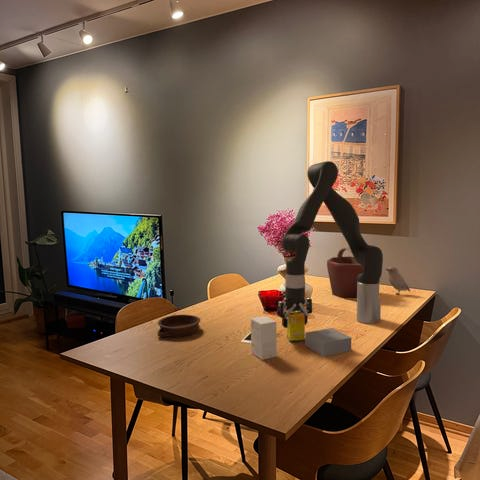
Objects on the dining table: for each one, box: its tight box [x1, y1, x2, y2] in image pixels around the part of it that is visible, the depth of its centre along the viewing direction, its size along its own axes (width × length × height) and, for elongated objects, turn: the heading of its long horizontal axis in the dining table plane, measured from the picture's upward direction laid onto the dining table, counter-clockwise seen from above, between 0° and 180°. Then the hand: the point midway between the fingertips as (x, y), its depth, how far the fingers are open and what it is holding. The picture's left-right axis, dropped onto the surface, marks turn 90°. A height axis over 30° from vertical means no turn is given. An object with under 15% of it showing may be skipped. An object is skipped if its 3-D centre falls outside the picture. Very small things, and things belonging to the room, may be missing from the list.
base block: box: [304, 327, 352, 357], centre depth 169 cm, size 12×12×5 cm
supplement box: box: [286, 311, 306, 343], centre depth 178 cm, size 6×6×11 cm
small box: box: [250, 315, 278, 361], centre depth 163 cm, size 8×6×13 cm
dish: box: [157, 314, 201, 338], centre depth 190 cm, size 18×22×5 cm
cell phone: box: [240, 331, 251, 344], centre depth 183 cm, size 8×16×1 cm, turn 159°
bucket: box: [326, 247, 364, 300], centre depth 241 cm, size 24×22×25 cm
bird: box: [384, 266, 411, 296], centre depth 240 cm, size 5×14×15 cm, turn 82°
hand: (294, 325), depth 178 cm, fingers open, 8 cm apart
